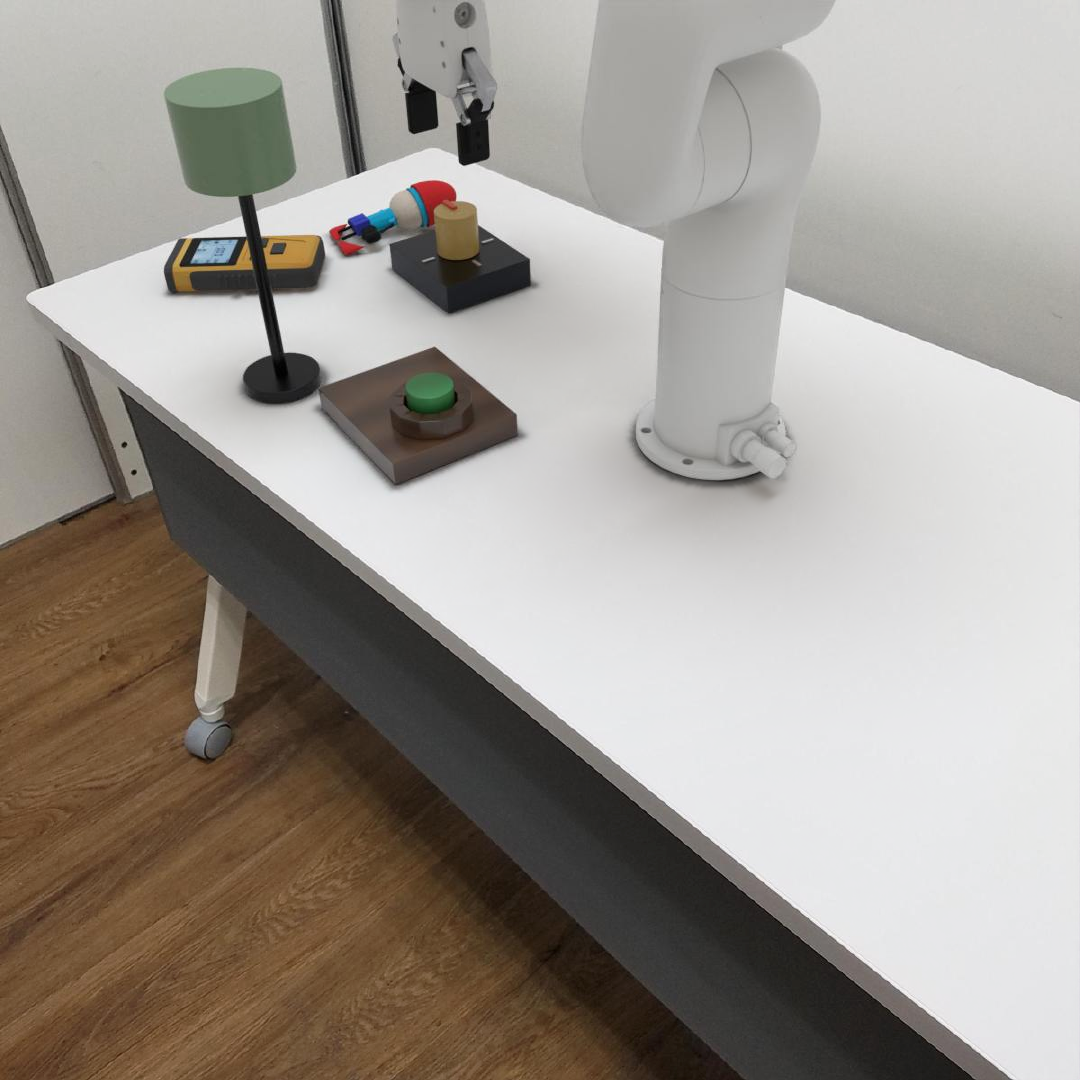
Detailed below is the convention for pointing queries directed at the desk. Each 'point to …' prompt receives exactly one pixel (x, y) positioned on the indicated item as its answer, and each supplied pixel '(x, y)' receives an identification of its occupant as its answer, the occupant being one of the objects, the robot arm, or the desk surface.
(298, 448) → the desk surface
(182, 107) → the lamp
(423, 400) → the switch
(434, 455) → the button base
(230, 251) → the electronic device
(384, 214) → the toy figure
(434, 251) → the dimmer panel
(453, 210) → the knob
